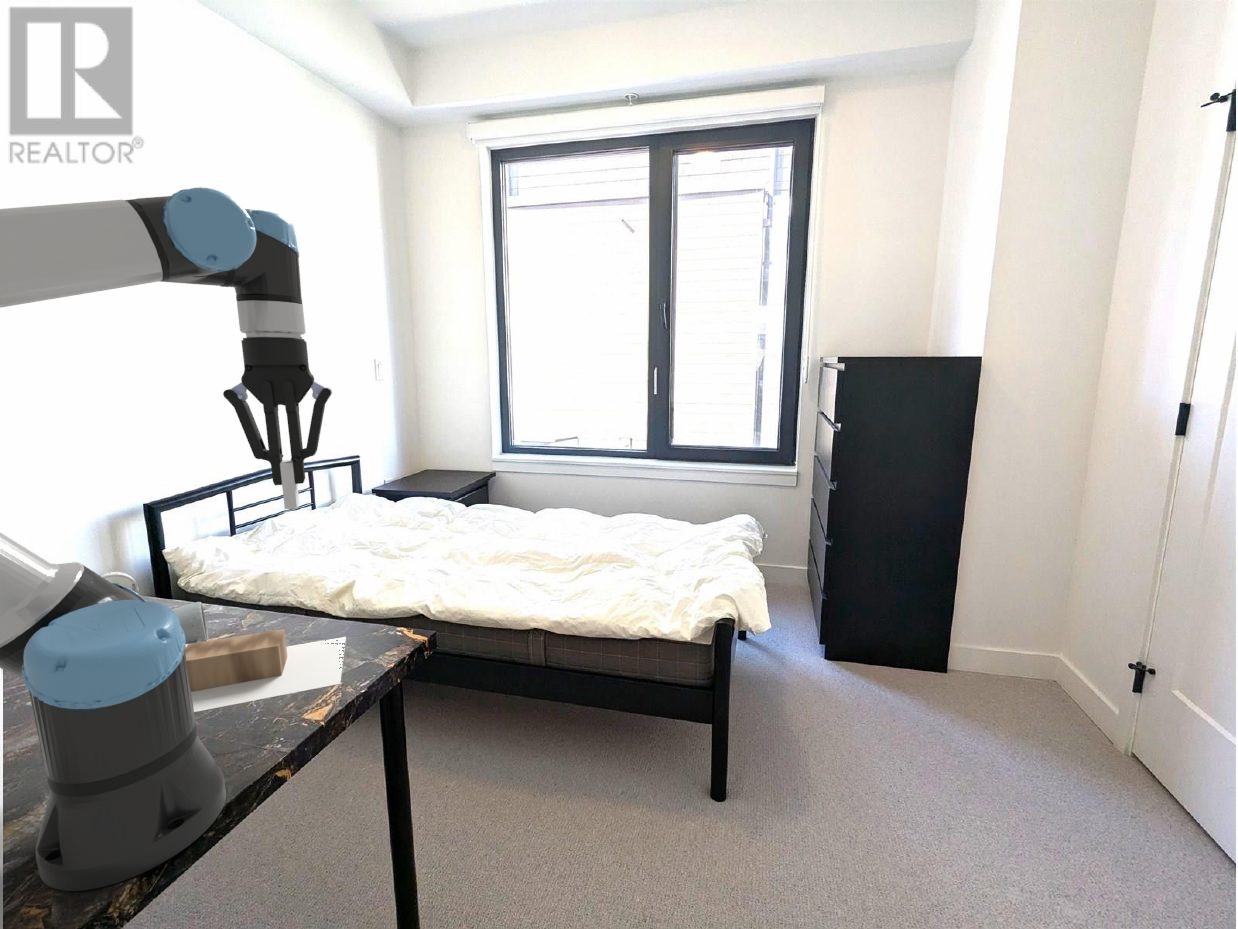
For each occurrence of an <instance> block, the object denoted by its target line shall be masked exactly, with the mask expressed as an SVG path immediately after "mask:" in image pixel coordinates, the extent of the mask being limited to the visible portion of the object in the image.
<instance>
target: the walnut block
mask: <svg viewBox="0 0 1238 929" xmlns="http://www.w3.org/2000/svg"><path fill="white" fill-rule="evenodd" d="M285 632H286V630H285V629H284V628H283V629H275V630H269V631H264V632H263V631H262V632H257V633H250V634H249V633H248V634H243V635H242V634H241V635H238V636H231V637H224V638H223V637H222V638H216V639H211V640H207V641H204V642H197V643H191V644H186V648H185V655H186V661H187V668H188V675H189V682H190V689H191V692H194V691H199V690H205V689H210V688H216V687H221V686H226V685H232V684H237V683H243V682H248V681H254V680H259V679H265V678H270V677H276V676H281V675H282V673H283V670H284V667H285V663H286V660H287V648H286V647H287V642H286V641H287V640H286V633H285Z"/></svg>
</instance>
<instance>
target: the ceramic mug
mask: <svg viewBox="0 0 1238 929" xmlns="http://www.w3.org/2000/svg"><path fill="white" fill-rule="evenodd" d="M203 607H204V606H203V603H202V601H196V602H194V603H190V604H186V605H182V606H180V607H176V608H171V609H172V610H173V611H174V612H175V613H176V615H177V616H178V618H179V621H180V625H181V627H182V629H183V631H184V634H185V640H186V644H191V643H197V642H204V641H209V631H208V626H207V622H206V621H207V620H206V615H205V612H204V608H203Z"/></svg>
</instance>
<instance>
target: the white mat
mask: <svg viewBox="0 0 1238 929" xmlns="http://www.w3.org/2000/svg"><path fill="white" fill-rule="evenodd" d="M325 640H326V641H325ZM325 640H318V641H313V642H307V643H300V644H295V645H294V644H293V645H289V646H287V645H286V648H287V660H286V663H285V667H284V670H283V673H282V675H281V676H276V677H270V678H265V679H259V680H254V681H248V682H243V683H237V684H232V685H226V686H221V687H216V688H210V689H205V690H199V691H194V692H191V695H192V702H193V709H194V713H198V712H203V711H208V710H214V709H218V708H219V709H220V708H224V707H229V706H235V705H238V704H246V703H249V702H254V701H261V700H264V699H270V698H275V697H280V696H285V695H291V694H294V693H295V694H296V693H301V692H307V691H310V690H316V689H322V688H326V687H332V686H336V685H341V684H342V683H341V681H342V673H343V665H344V658H343V659H342V658H340V659H339V657H344V656H345V648H346V640H347V636H342V637H335V638H331V639H330V638H329V639H325ZM336 640H338V641H336ZM325 643H326V644H325ZM327 643H329V644H327ZM331 643H334V644H331ZM335 643H338V645H337V644H335ZM339 643H341V644H339ZM342 643H345V645H344V644H343V645H342ZM342 647H345V648H344V649H343V648H342ZM339 650H340V651H339ZM342 650H344V652H343V651H342ZM339 654H341V655H339ZM343 654H344V655H343ZM339 661H340V662H339ZM342 661H343V662H342ZM340 664H341V665H340ZM342 664H343V665H342ZM340 667H342V668H340ZM339 668H340V669H339Z"/></svg>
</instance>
